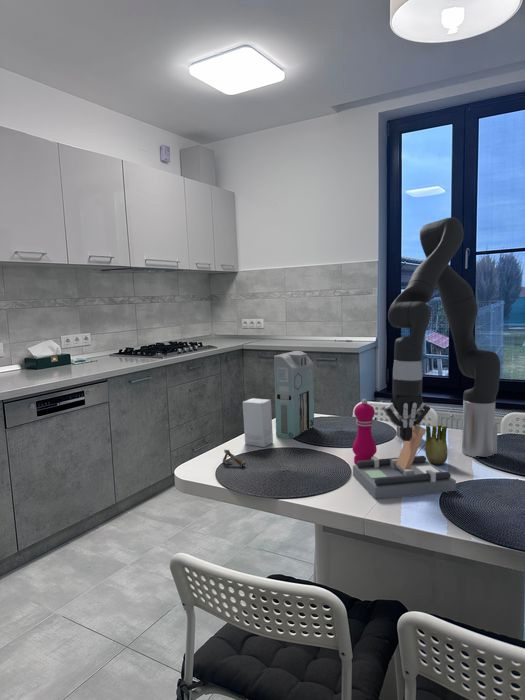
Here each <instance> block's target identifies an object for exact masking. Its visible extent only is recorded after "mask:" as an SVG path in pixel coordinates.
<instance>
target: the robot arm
mask: <svg viewBox="0 0 525 700" xmlns="http://www.w3.org/2000/svg"><path fill="white" fill-rule="evenodd" d="M464 236H465V232H464V227H463V224H462V222H461V221H460V220H459V218H456V217H446V218H443V219H439V220H437V221H433V222H430V223H427V224H425V225H422V226H421V228H420V230H419V239H420V244H421V248H422V250H423V253H424V255H425V259H424V260H423V261H422V262H421V263H420V264H419V265H418V266H417V267H416V268H415V270H414V272H413V273H412V274H411V277H410V278H409V281H408V284H407V285H406V287H405V288H404V289H403V290H402V292H401V293H400V294H398V296H397V297H396V298H395V299H394V301H393V302H392V303H391V304H390V306H389V309H388V312H387V319H388V322H389V324H390V325H391V326H392V327H393V328H396V329H412V331H411V332H410V334H409V335H408V336H402V337H398V338H396V339H395V341H394V347H393V348H394V349H393V352H394V353H393V355H394V357H393V367H392V391H391V392H392V398H391V399H390V403H389V404H387V406H386V405H384V406H383V407H382V410H383V411H384V412H385V414H386V415H387V416H388V419H389V420H390V419H391V420H392V422H393V423H394V424H396V425H398V426H400V438H402V440H404V441H410V439H411V438H412V427H413V426H414V425H419V423H420V424H421V423H422V421H423V419H425V417H426V416H427V414H428V413H429V411H431V407H430V406H429V405H426V404H425V403H424V399H423V398H422V394H423V375H424V374H423V362H422V360H423V343H424V340H425V337H426V333H427V329H428V326H429V324H430V320H431V310H430V309H431V308H430V307H429V305H428V304H427V303H429V302H430V300H431V299H432V296H433V294H434V291H435V290H436V286H437V289H438V293H439V296H440V300H441V304H442V306H443V307H442V308H443V310H444V313H445V316H446V319H447V322H448V326H449V329H450V330H449V331H450V334H451V337H452V340H453V345H454V351H455V354H456V361H457V365H458V366H457V367H458V369H459V371H460V372H461V374H462V375H463V376H465V377H467V378H471V379H474V386H473V387H472V388H469V389H466V390H464V392H463V397H462V398H463V399H462V400H463V401H462V404H463V405H462V434H461V436H462V438H461V439H462V440H461V453H463V454H464V455H465V456H469V457H471V458H472V457H473V458H477V457H476V456H491V455H493V454H498V453H497V451H498V449H497V448H498V425H497V424H496V423H495V422H496V399H497V398H496V397H497V395H498V393H499V388H500V380H501V379H500V377H501V360H500V357H499V355H498V354H497V353H496V352H494V351H490V350H485V349H479V348H478V346H477V342H476V340H475V338H474V337H475V336H474V328H475V324H476V320H477V317H478V304H477V301H476V297H475V293H474V291H473V290H474V289H473V288H472V287H471V285H470V284H469V283H468V281H467V280H466V279H464V278H463V277H462V276H461V275H459V274H458V273H457V272H456V271H455V270H454V268H452V267H451V266H450V262H451V261H452V259H453V258H454V256H455V255H456V253H457V252H458V250H459V248H461V246H462V243H463V242H464ZM395 411H396V412H397V415H396V414H395V413H394V412H395ZM416 411H417V413H416ZM415 413H416V414H415ZM398 417H399V419H398ZM391 420H390V421H391ZM392 422H391V423H392ZM393 423H392V424H393ZM394 424H393V425H394ZM396 425H395V426H396ZM493 456H494V455H493Z"/></svg>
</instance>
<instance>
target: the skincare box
mask: <svg viewBox="0 0 525 700" xmlns="http://www.w3.org/2000/svg"><path fill="white" fill-rule="evenodd" d="M242 413H243V414H242V415H243V428H244V430H243V431H244V444H245V445H248V446H254V447H262V448H265V447H267V446H269V445H271V444H272V443H273V442H274V439H273V438H274V437H273V435H274V434H273V419H272V417H273V416H272V415H273V414H272V399H265V398H254V397H252V398H249V399H246V400H243V401H242Z"/></svg>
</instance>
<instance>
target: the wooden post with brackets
mask: <svg viewBox="0 0 525 700" xmlns="http://www.w3.org/2000/svg"><path fill="white" fill-rule="evenodd" d="M223 452H224V454H225V455H224V457H222V463H225V462H226V464H227V465H229V464H230V465H231V464H232V465H233V461H234V462H236V463H237V464H238V466H240V467H241V468H243V467H244V466H243V465H245V466H246V463H247V461H242V460H240V459H239V458H238V457H237V456H235V455H234V454H232V452H231V451H230V450H229V449H224V450H223ZM228 457H229V458H230V459H231V460H233V461H231V460H230V459H228ZM242 466H243V467H242Z"/></svg>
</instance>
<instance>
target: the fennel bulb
mask: <svg viewBox="0 0 525 700" xmlns="http://www.w3.org/2000/svg"><path fill="white" fill-rule="evenodd" d="M425 429H426V432H425V450H424V451H425V457H426V461H428V462H429V463H431V464H432V465H436V466H440V465H441V466H442V465H443V464H445V463H446V462H447V460H448V453H449V452H448V444H447V430H448V427H447V426H446V425H442V424H437V425H436V424H435V425H434V424H433V425H432V429H431V425H430V424H427V425H426V426H425Z"/></svg>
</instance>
